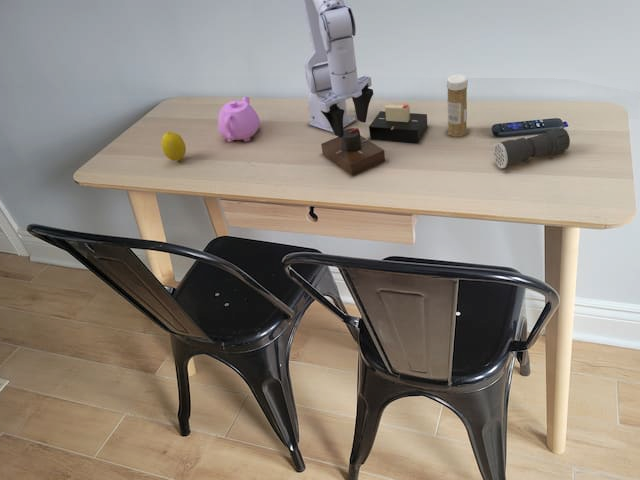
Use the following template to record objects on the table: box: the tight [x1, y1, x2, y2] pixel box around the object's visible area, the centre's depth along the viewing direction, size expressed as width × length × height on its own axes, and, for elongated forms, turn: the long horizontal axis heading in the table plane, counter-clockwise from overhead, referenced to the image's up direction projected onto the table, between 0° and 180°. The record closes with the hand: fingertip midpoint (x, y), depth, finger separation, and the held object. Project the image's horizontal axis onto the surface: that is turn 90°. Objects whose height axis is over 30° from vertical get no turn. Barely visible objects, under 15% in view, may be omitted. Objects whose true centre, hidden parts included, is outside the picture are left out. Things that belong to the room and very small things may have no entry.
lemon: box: [160, 131, 187, 162], centre depth 141 cm, size 6×6×8 cm
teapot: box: [217, 96, 261, 143], centre depth 147 cm, size 10×15×9 cm
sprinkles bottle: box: [446, 74, 469, 138], centre depth 132 cm, size 5×5×14 cm
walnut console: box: [320, 134, 386, 177], centre depth 132 cm, size 13×9×3 cm
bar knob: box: [384, 104, 411, 122], centre depth 136 cm, size 6×2×4 cm, turn 67°
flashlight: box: [493, 127, 571, 169], centre depth 122 cm, size 15×5×5 cm, turn 105°
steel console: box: [368, 110, 429, 145], centre depth 138 cm, size 12×10×4 cm
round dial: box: [341, 127, 361, 151], centre depth 130 cm, size 4×4×4 cm
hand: (350, 128), depth 129 cm, fingers open, 7 cm apart
